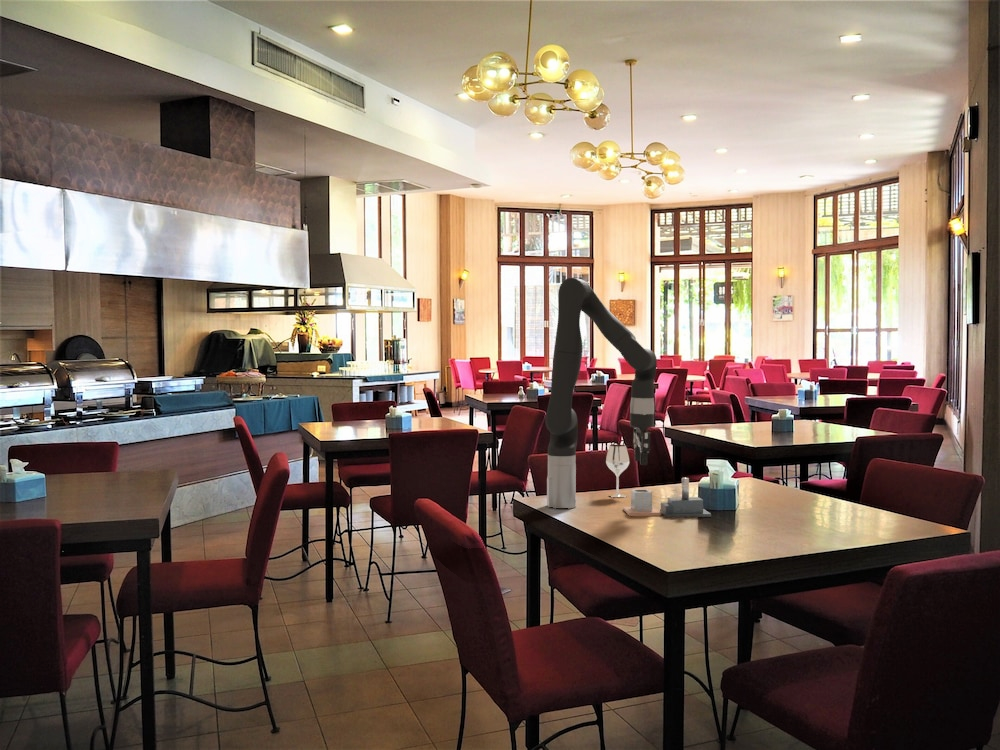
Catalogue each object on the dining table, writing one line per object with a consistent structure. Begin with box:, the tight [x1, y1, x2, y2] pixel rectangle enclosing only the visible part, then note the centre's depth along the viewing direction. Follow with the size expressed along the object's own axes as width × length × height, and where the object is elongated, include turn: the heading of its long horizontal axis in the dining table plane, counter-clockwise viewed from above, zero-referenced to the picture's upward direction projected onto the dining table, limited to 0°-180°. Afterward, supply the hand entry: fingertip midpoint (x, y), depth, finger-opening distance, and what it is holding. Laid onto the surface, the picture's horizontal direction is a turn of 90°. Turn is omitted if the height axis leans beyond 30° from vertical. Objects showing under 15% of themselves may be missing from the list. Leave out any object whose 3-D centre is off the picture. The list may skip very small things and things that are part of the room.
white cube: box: [630, 488, 653, 511], centre depth 270 cm, size 6×6×6 cm
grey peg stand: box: [659, 477, 712, 518], centre depth 267 cm, size 14×8×12 cm, turn 93°
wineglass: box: [605, 444, 630, 498], centre depth 300 cm, size 8×8×18 cm
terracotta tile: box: [622, 506, 662, 517], centre depth 270 cm, size 10×10×1 cm
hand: (641, 462), depth 270 cm, fingers open, 8 cm apart
